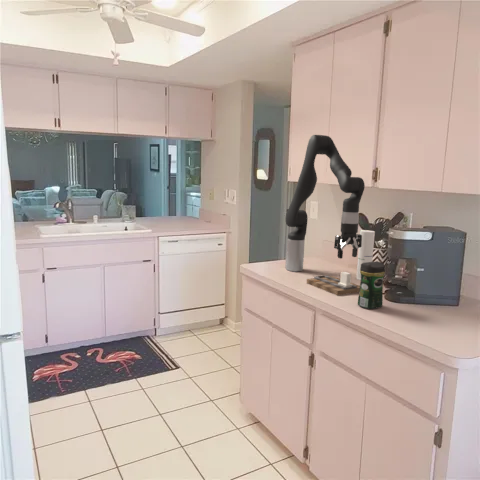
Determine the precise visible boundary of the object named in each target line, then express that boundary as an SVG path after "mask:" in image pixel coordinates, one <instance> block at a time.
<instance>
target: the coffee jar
mask: <svg viewBox="0 0 480 480" xmlns="http://www.w3.org/2000/svg"><path fill="white" fill-rule="evenodd" d="M360 273H361V280H360V285H359V286H360V291H359V292H358V298H357V305H358V306H359V307H360V308H363V309H368V310H373V309H375V310H376V309H379V308H382V306H383V304H384V301H383V300H384V299H383V298H384V297H383V292H384V291H383V290H384V289H383V288H384V286H383V285H384V277H385V273H386V265H385V264H384V263H383V262H380V261H378V260H377V261H372V262H366V263H362V264H361V268H360Z"/></svg>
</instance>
